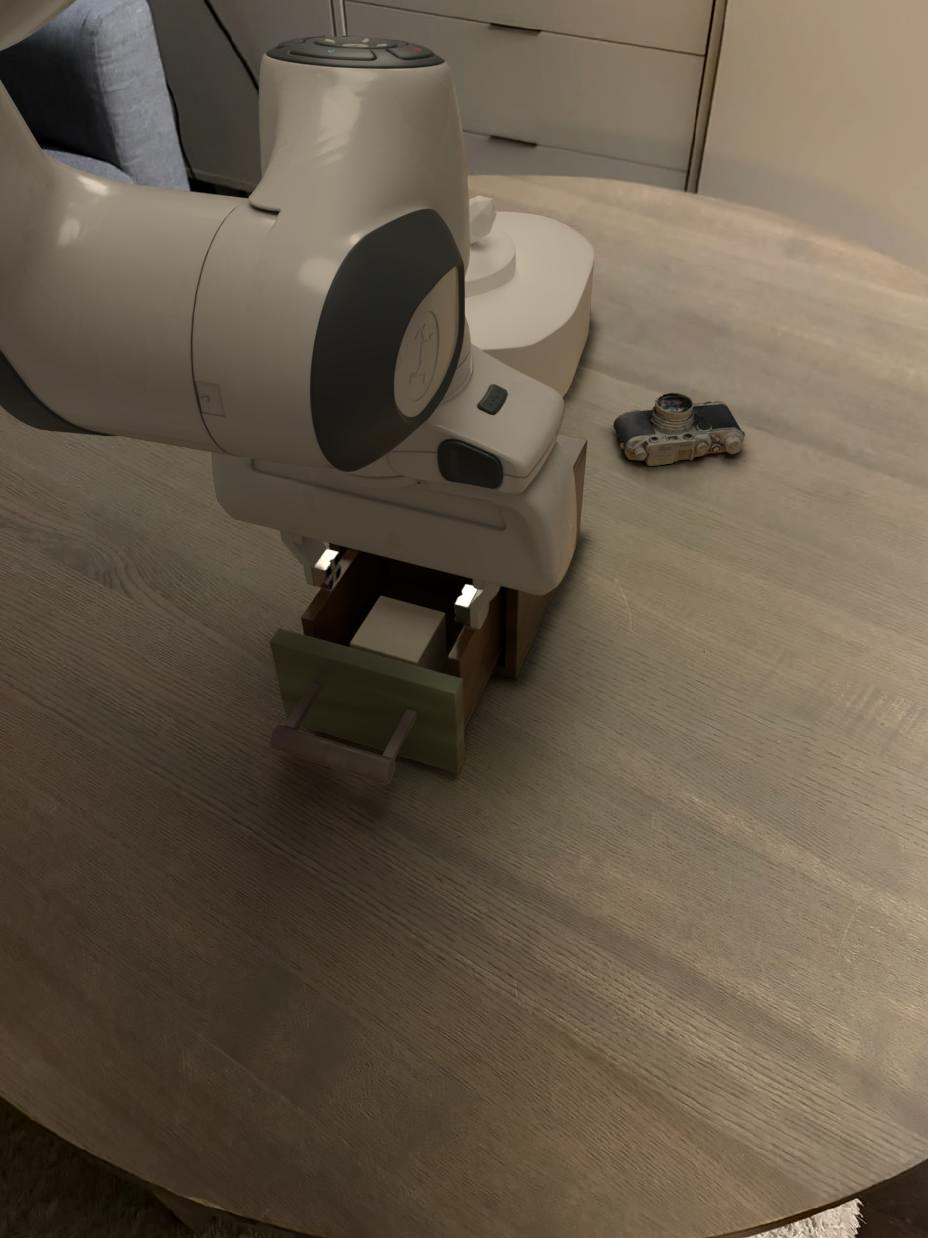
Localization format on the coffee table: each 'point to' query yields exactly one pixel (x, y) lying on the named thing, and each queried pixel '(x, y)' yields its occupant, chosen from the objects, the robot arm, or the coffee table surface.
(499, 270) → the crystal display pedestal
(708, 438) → the camera
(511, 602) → the cabinet
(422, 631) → the block
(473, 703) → the drawer
